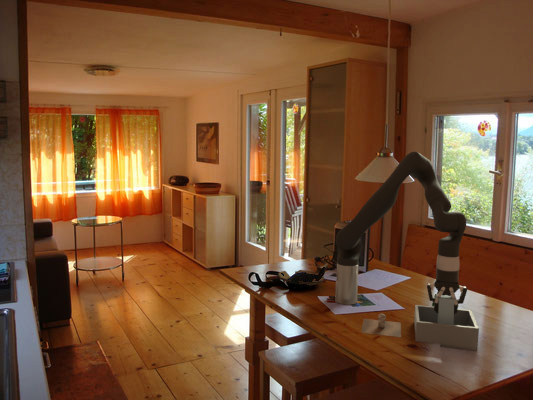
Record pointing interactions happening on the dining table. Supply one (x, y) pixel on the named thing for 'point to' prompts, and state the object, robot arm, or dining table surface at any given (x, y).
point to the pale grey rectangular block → (446, 310)
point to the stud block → (381, 327)
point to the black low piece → (286, 275)
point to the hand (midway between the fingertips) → (445, 312)
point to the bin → (446, 329)
